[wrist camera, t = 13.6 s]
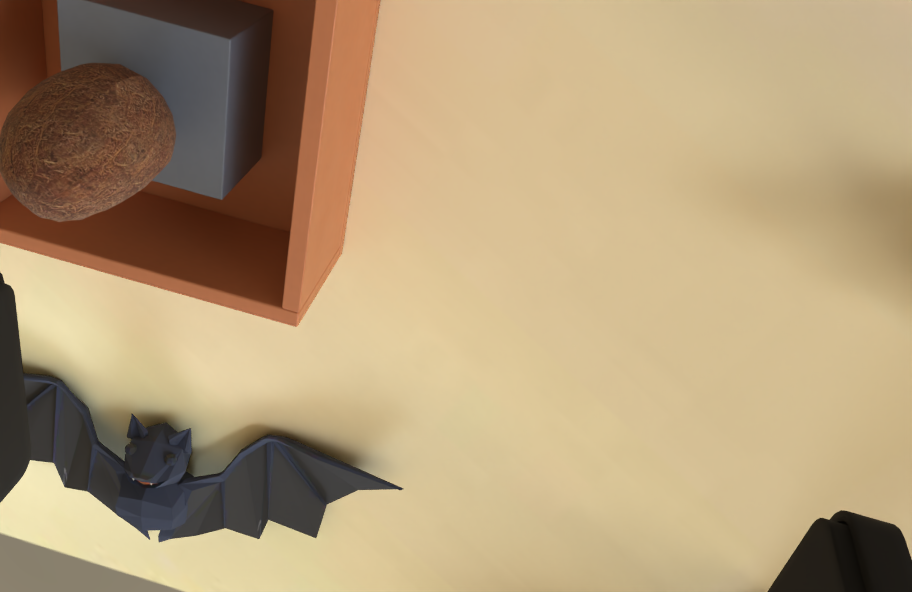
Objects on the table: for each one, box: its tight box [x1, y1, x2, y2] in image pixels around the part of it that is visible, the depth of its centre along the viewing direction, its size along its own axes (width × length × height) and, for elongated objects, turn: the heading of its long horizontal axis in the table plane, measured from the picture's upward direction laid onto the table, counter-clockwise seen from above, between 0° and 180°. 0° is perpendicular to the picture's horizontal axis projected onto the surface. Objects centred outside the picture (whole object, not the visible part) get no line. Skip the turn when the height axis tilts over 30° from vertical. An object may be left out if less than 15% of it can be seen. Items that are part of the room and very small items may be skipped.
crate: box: [0, 0, 380, 327], centre depth 36 cm, size 16×16×7 cm
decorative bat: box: [23, 373, 403, 542], centre depth 51 cm, size 30×4×10 cm
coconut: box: [0, 63, 176, 222], centre depth 31 cm, size 5×5×8 cm
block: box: [57, 0, 273, 200], centre depth 36 cm, size 7×7×4 cm
